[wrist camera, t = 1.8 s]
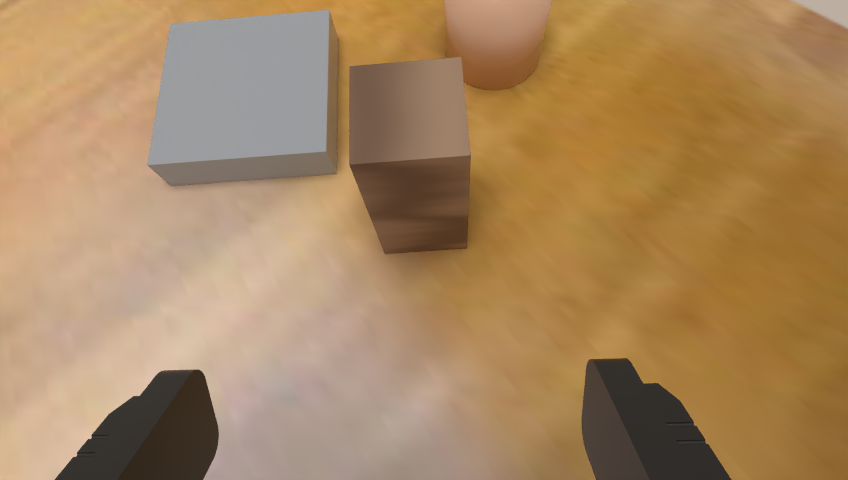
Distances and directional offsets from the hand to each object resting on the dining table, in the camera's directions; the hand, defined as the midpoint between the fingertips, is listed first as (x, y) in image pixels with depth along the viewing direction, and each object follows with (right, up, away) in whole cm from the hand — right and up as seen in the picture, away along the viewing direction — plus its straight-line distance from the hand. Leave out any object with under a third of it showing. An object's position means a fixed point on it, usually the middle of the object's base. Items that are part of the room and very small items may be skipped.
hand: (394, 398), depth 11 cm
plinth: (-10, +11, +22) cm, 27 cm away
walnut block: (+1, +5, +18) cm, 19 cm away
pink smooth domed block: (+5, +15, +22) cm, 27 cm away
